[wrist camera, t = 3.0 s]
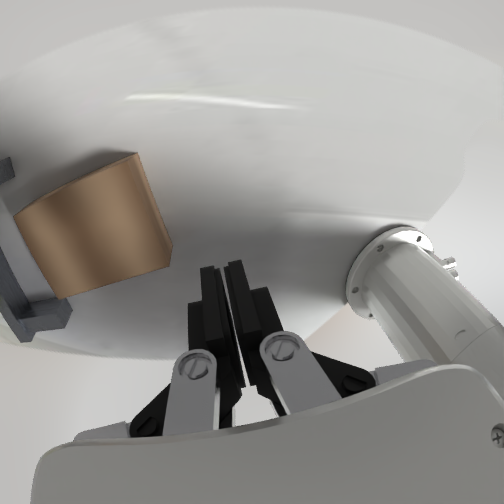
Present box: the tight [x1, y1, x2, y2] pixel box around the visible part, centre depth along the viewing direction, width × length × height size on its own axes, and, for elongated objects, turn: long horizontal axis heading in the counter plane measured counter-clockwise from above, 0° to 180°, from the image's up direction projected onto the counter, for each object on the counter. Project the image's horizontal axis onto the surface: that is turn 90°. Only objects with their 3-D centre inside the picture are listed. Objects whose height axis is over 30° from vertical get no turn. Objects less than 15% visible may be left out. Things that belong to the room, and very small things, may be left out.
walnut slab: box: [13, 153, 173, 300], centre depth 22 cm, size 12×9×4 cm
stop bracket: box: [0, 157, 73, 343], centre depth 21 cm, size 8×20×4 cm, turn 8°
